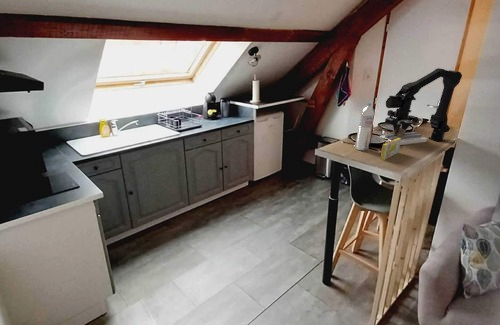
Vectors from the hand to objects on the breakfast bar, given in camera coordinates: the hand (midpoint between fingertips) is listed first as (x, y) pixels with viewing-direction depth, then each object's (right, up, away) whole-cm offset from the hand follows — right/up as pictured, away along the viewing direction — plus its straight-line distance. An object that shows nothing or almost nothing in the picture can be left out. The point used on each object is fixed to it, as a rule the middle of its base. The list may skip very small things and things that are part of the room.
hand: (398, 134), depth 170 cm
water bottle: (-26, -9, -11) cm, 30 cm away
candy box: (-15, -13, -20) cm, 28 cm away
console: (+4, -3, +3) cm, 6 cm away
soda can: (-21, -5, -2) cm, 22 cm away
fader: (0, -2, +1) cm, 2 cm away
